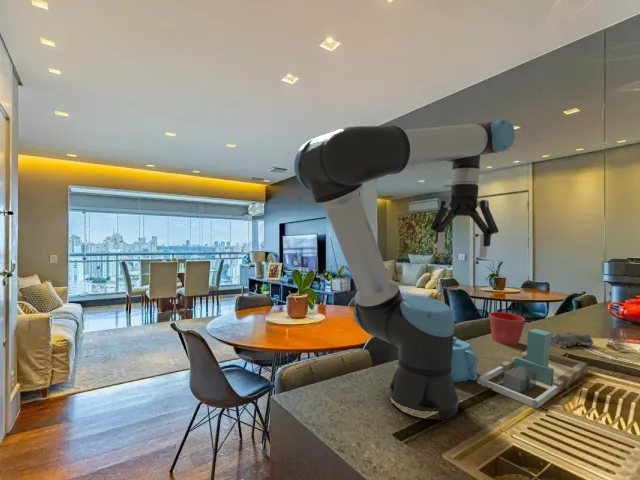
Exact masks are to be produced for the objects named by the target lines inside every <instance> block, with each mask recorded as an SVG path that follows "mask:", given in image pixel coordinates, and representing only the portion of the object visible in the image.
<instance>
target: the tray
mask: <svg viewBox="0 0 640 480" xmlns="http://www.w3.org/2000/svg"><path fill="white" fill-rule="evenodd" d="M503 368H504V367H502V366H500V365H499V366H498V367H496V368H494V369H492V370H490V371H488V372H486V373H484V374H482V375H480V376H478V377H477V379H476V384H477V383H480V384H483V385H486V386H490V387H492V390H491V391H494V392H496V393H498V394H501V395H503V396H506V397H508V398H510V399H513V400H515V401H518V402H520V403H522V404H525V405H527V406H529V407H531V408H534V409H538V408H540V407H542V405H543V404H545V403H546V402H548V401H549V400H550V399H551V398H553V397H554V396H555V395H557V391H558V386H555V385H554V386H552V387H551V388H549V389H547V390H545V391H543V392H542V394H540V395H539V396H537V397H536V398H532V397H530V396H527V395H525V394H523V393H519V392H516V391H514V390H511V389H509V388H506V387H504V386H503V385H501V384H497V383H495V382H492V381H490V380H491V379H490V378H492V377H494V376H496V375H497V374H499V373H501V372H503ZM501 374H502V373H501ZM496 377H497V376H496ZM494 378H495V377H494ZM488 379H490V380H488ZM492 379H493V378H492Z"/></svg>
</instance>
